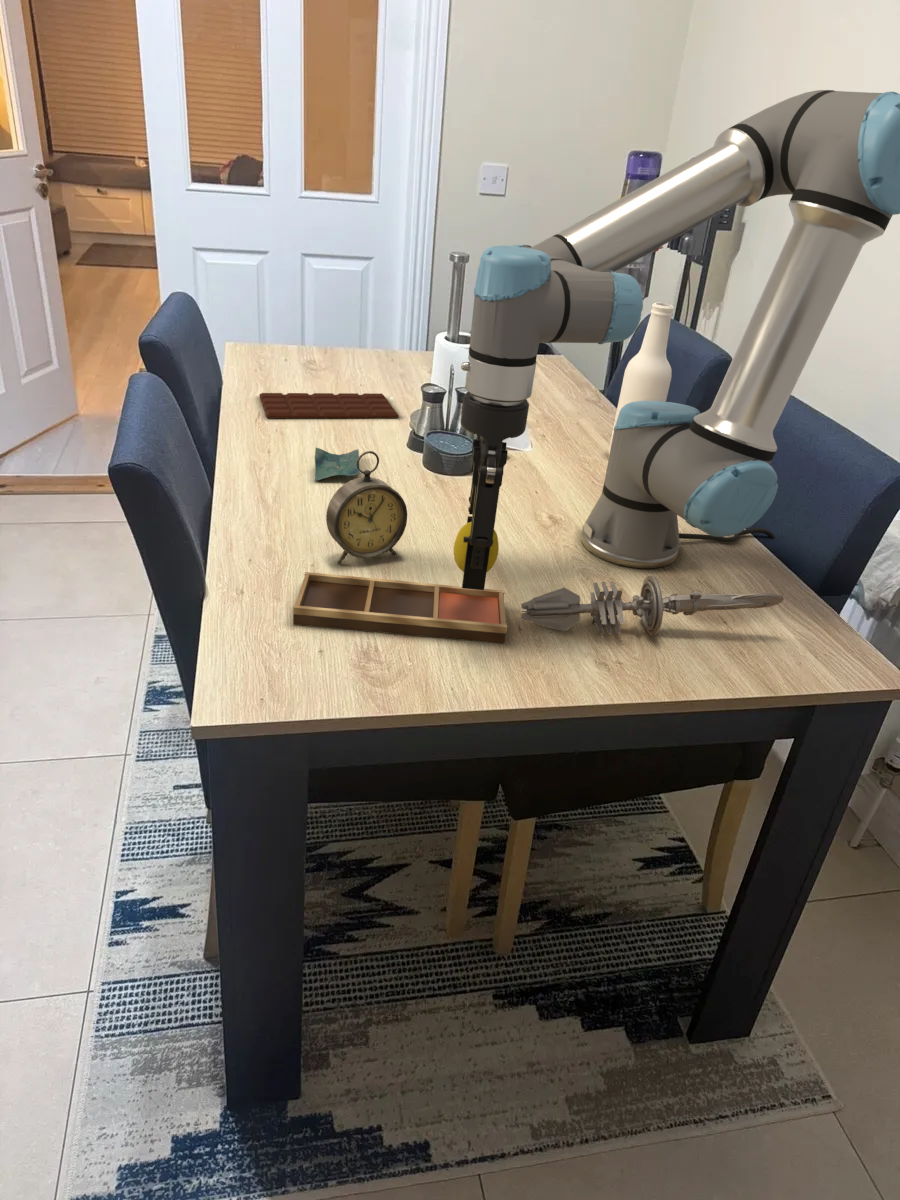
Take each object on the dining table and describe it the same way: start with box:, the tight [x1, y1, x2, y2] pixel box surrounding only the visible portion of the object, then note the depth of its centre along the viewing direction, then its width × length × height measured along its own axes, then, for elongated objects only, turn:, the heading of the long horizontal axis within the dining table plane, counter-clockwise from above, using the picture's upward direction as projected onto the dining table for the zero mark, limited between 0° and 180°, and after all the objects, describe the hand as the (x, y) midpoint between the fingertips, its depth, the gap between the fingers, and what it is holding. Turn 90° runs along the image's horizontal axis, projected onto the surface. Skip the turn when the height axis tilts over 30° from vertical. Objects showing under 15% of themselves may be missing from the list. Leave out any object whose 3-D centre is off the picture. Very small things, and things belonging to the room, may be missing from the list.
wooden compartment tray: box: [292, 571, 508, 644], centre depth 109 cm, size 27×9×2 cm, turn 89°
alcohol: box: [608, 301, 675, 455], centre depth 162 cm, size 9×9×30 cm
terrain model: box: [314, 447, 361, 482], centre depth 149 cm, size 13×8×2 cm, turn 7°
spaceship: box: [519, 574, 784, 637], centre depth 111 cm, size 8×35×8 cm
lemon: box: [453, 521, 500, 573], centre depth 105 cm, size 6×6×8 cm
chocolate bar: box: [259, 392, 399, 419], centre depth 178 cm, size 27×14×1 cm, turn 107°
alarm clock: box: [325, 450, 408, 565], centre depth 119 cm, size 11×5×16 cm, turn 117°
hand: (472, 575), depth 107 cm, fingers closed on lemon, 5 cm apart
